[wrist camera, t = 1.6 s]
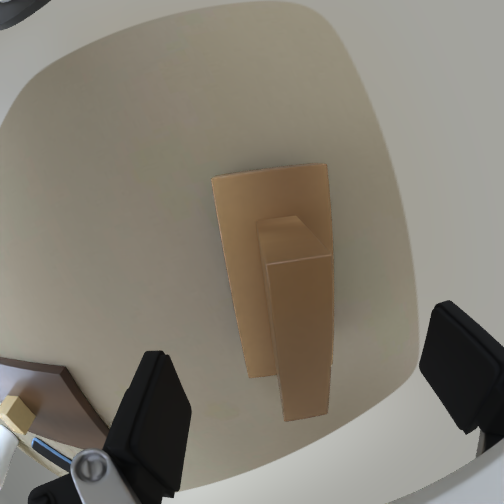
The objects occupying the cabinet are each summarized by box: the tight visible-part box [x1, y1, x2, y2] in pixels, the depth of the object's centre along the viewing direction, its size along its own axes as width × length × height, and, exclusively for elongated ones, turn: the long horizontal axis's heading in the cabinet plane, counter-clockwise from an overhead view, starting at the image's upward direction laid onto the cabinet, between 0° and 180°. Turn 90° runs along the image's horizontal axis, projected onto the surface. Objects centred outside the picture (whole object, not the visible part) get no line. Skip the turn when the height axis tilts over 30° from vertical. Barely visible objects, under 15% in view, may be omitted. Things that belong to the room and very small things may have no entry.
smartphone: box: [31, 438, 72, 473], centre depth 26 cm, size 7×1×15 cm
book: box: [0, 357, 109, 450], centre depth 20 cm, size 14×20×1 cm
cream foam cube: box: [0, 395, 36, 435], centre depth 18 cm, size 4×4×4 cm
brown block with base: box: [211, 163, 334, 422], centre depth 12 cm, size 5×11×8 cm, turn 8°
